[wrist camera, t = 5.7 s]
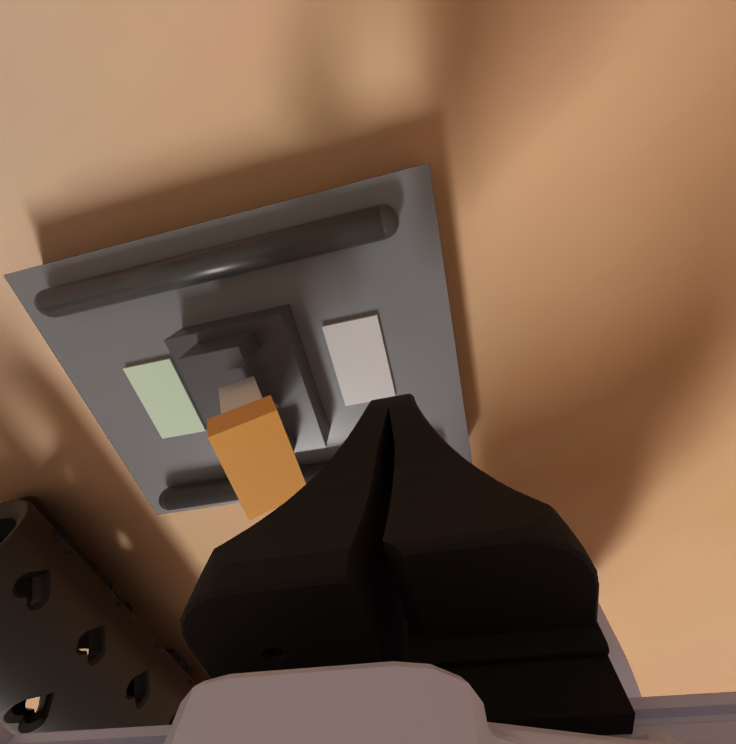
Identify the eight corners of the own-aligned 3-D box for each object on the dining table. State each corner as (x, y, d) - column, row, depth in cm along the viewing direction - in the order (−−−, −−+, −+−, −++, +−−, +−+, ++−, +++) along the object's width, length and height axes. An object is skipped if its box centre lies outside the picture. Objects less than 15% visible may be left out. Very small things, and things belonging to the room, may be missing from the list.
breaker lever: (257, 364, 15) (276, 409, 11) (283, 430, 16) (309, 491, 12) (206, 382, 14) (207, 437, 10) (237, 449, 16) (249, 520, 12)
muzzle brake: (84, 471, 23) (-115, 658, 14) (266, 700, 35) (222, 886, 26) (-35, 500, 25) (-284, 685, 16) (176, 709, 36) (104, 888, 27)
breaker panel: (424, 166, 15) (440, 156, 10) (465, 444, 21) (487, 516, 16) (42, 266, 18) (-79, 293, 13) (174, 489, 23) (123, 562, 19)
